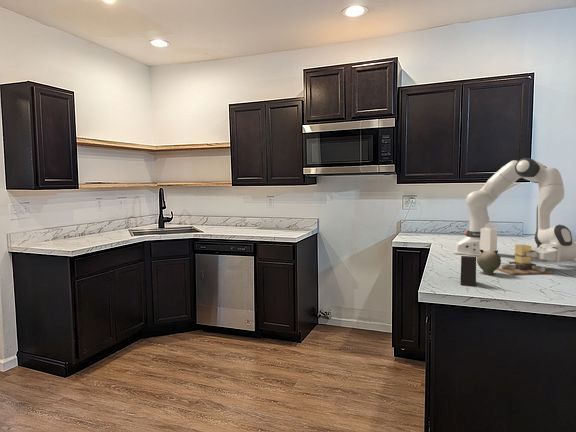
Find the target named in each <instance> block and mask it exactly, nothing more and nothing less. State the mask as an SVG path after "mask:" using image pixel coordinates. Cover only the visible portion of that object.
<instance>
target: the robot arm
mask: <svg viewBox="0 0 576 432" xmlns="http://www.w3.org/2000/svg"><path fill="white" fill-rule="evenodd" d="M520 179H524V180H526V181H530V182H531V183H533V184H538V193H539V195H538V201H537V202H538V203H537V206H536V231H535V233H534V241H535V244H536V246H537V245H538V246H539V247H538V248H537V247H536V246H531V253H529V252H525V256H531V258H535V259H538V260H539V259H540V260H541V261H543V262H556V263H559V262H560V261H561V262H563V261H564V262H565V261H566V262H567V261H572V260H576V242H575V240H574V238H573V235H572V231H571V230H570V229H569V227H567V226H566V225H564V224H557V225H554V226H551V218H550V217H551V214H552V211H554V209H555V208H556V207H557V206H558V205H559V204H560V203H561V202H562V201H563V200H564V197H565V187H564V182H563V178H562V175H561V172H560V171H559V169H558V168H555V167H547V166H546V165H544V164H543V163H541V162H539V161H538V160H534V159H532V158H531V157H523V158H520V159H519V160H516V159H515V160H514V159H513V160H511V161H509V162H508V163H506V164H505V165H503V166H501V167H500V169H498V170H497V171H496V172H495V173H494V174H493V175H492V176H490V177H489V178H488V179H487V181H486V182H485V184H484V185H483V186H482V187H481V188H480V189H479V190H474V191H471V192H469V194H468V195H467V196H466V198H465V203H466V205H467V209H468V210H467V211H468V216H469V230H465V231H464V233H465V236H464V237H463V238H461V239H460V240H458V241H457V243H456V244H455V248H453V249H452V250H451V253H452V254H455V255H462V256H474V257H478V255H479V254H480V233H481V228H483V227H485V226H486V223H490V216H489V213H488V212H489V211H488V207H490V206H492V204H493V203H494V202H495V201H496V200H497V199H498V198H499V197H500V196H501V195H502V194H503V193H504V192H505V191H506V190H507V189H508V188H510V187H511V186H512V185H513V184H515V182H517V181H518V180H520ZM561 262H560V263H561Z"/></svg>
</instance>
